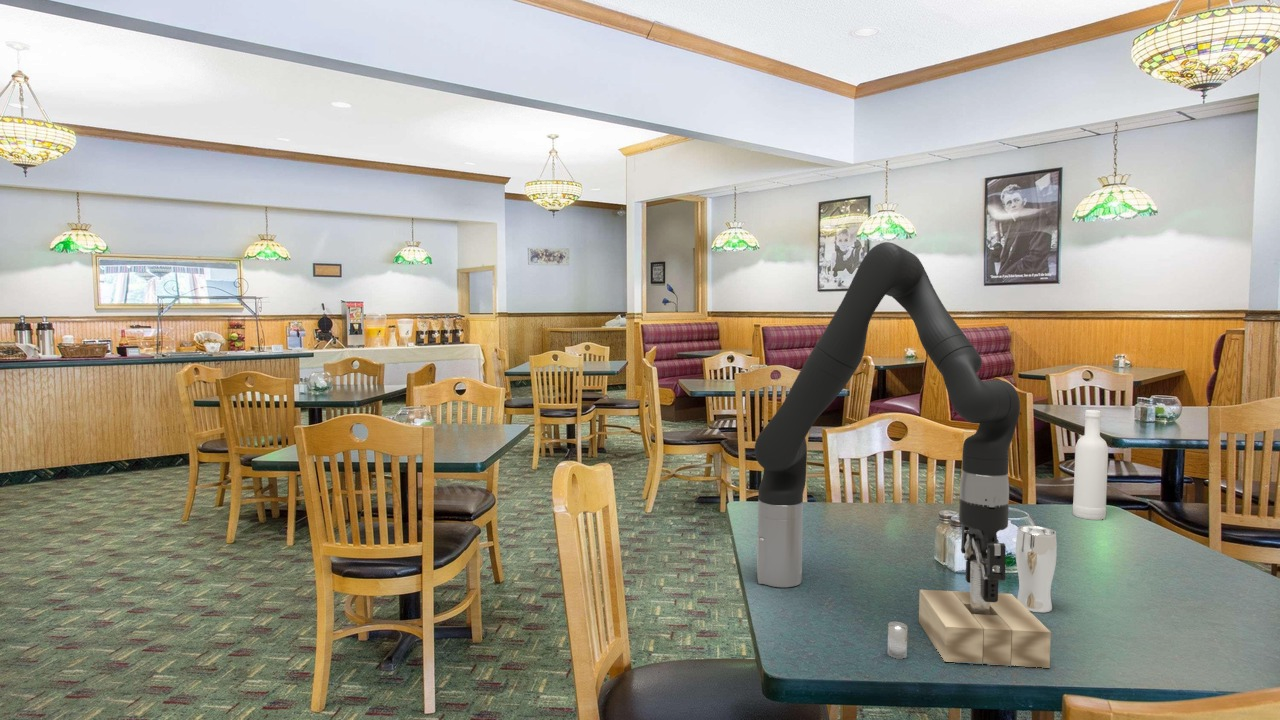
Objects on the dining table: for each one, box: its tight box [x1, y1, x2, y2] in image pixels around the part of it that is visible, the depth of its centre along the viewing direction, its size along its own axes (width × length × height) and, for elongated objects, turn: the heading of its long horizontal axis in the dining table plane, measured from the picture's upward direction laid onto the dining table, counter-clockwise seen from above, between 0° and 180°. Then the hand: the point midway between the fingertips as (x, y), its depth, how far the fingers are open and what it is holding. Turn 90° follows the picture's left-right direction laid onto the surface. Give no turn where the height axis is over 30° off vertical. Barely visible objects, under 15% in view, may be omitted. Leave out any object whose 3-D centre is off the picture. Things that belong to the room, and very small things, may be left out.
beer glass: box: [1015, 525, 1058, 614], centre depth 139 cm, size 7×7×15 cm
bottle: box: [1072, 409, 1109, 521], centre depth 202 cm, size 8×8×30 cm
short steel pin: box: [887, 621, 908, 660], centre depth 120 cm, size 3×3×5 cm
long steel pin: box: [969, 560, 990, 615], centre depth 124 cm, size 3×3×14 cm
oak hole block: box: [918, 589, 1052, 669], centre depth 124 cm, size 16×16×6 cm
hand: (981, 591), depth 123 cm, fingers open, 8 cm apart
